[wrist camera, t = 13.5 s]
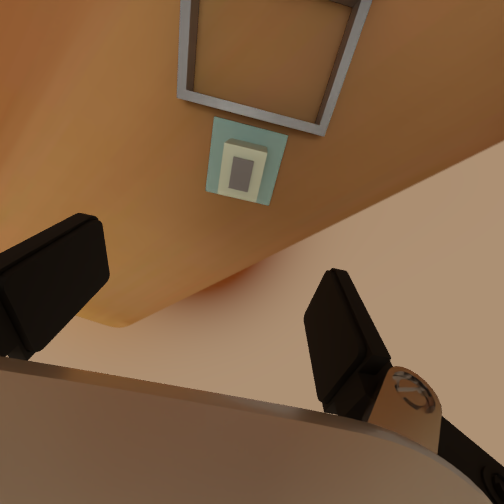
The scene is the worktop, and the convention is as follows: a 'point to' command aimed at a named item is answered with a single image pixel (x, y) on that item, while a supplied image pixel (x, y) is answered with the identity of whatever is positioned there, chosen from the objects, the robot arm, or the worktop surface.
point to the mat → (251, 134)
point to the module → (241, 169)
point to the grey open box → (185, 91)
